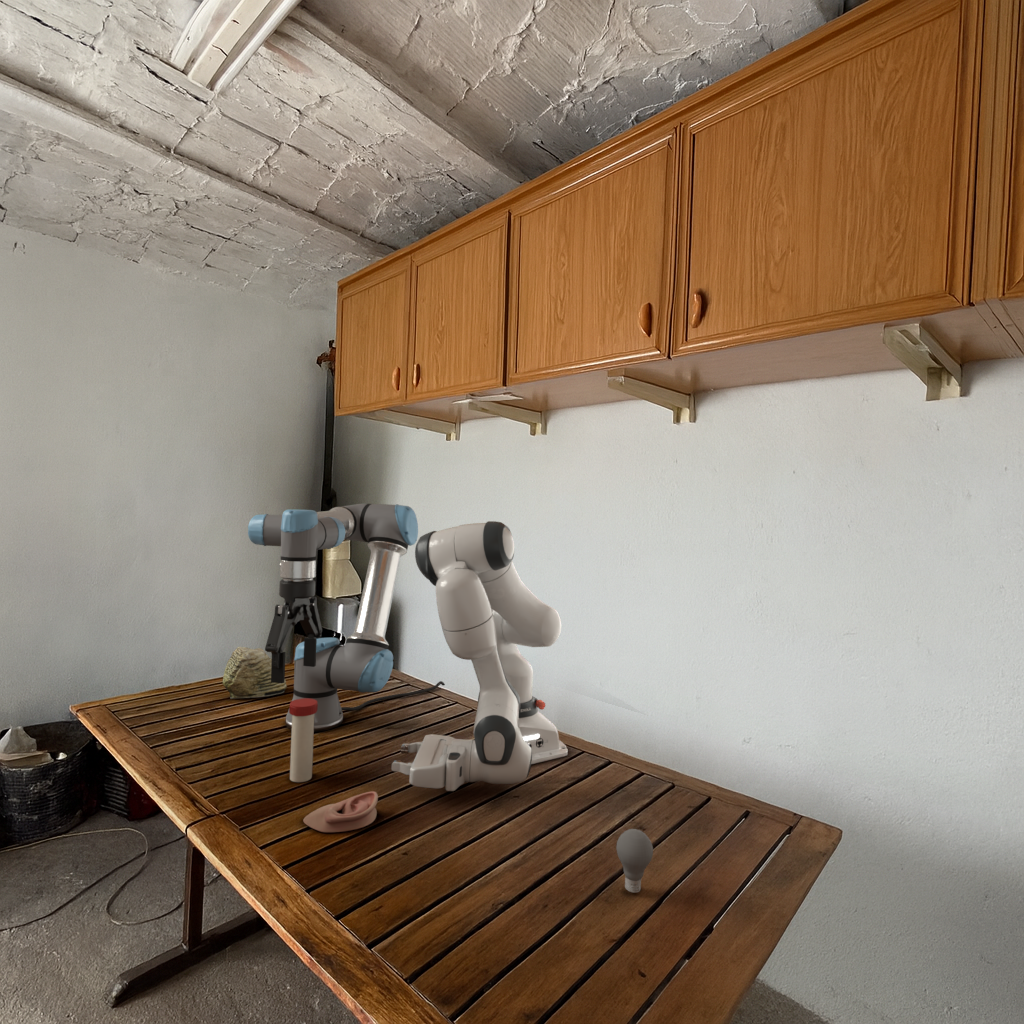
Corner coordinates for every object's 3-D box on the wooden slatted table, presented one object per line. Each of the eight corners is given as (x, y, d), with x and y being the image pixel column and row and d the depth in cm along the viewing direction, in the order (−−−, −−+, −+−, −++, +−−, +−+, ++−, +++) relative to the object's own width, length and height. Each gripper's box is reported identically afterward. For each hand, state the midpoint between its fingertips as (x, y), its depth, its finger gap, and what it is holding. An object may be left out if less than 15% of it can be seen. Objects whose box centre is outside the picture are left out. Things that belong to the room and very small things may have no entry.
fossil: (218, 695, 195) (220, 647, 195) (278, 685, 208) (279, 640, 207) (228, 703, 189) (230, 653, 188) (289, 692, 201) (290, 645, 201)
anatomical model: (295, 807, 120) (325, 781, 132) (294, 828, 121) (324, 800, 132) (360, 817, 118) (384, 790, 129) (359, 838, 118) (384, 809, 129)
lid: (291, 717, 138) (291, 708, 138) (287, 709, 143) (287, 699, 143) (319, 714, 141) (319, 705, 141) (314, 706, 146) (315, 697, 146)
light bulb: (610, 879, 108) (613, 822, 108) (644, 879, 109) (647, 822, 109) (619, 902, 102) (622, 840, 102) (655, 901, 103) (658, 840, 103)
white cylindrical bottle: (291, 783, 139) (294, 708, 139) (288, 774, 143) (291, 702, 143) (313, 780, 141) (316, 706, 141) (310, 771, 146) (312, 700, 145)
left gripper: (309, 571, 154) (306, 658, 154) (249, 585, 129) (245, 688, 130) (338, 573, 152) (335, 661, 153) (282, 587, 128) (279, 691, 128)
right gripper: (464, 729, 151) (406, 726, 152) (453, 765, 131) (387, 761, 131) (463, 755, 151) (405, 752, 152) (452, 795, 131) (385, 791, 131)
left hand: (294, 674), depth 141 cm, fingers open, 13 cm apart
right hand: (396, 756), depth 141 cm, fingers open, 8 cm apart
